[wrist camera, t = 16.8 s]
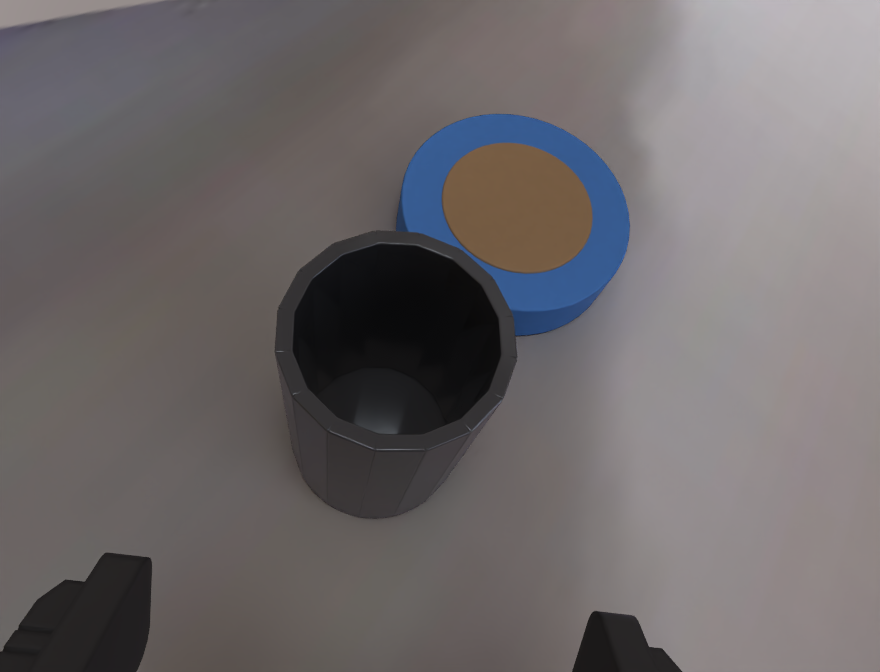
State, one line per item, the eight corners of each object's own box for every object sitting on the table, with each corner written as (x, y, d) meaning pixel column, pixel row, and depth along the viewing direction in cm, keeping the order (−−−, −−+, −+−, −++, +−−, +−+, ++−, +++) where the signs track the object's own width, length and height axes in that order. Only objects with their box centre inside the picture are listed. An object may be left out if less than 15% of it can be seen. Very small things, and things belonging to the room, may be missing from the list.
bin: (416, 341, 29) (456, 204, 20) (480, 479, 27) (556, 397, 18) (270, 394, 27) (242, 269, 18) (328, 546, 25) (328, 492, 16)
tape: (547, 127, 35) (563, 90, 33) (648, 294, 32) (673, 266, 29) (362, 179, 32) (364, 142, 30) (452, 368, 29) (463, 343, 27)
